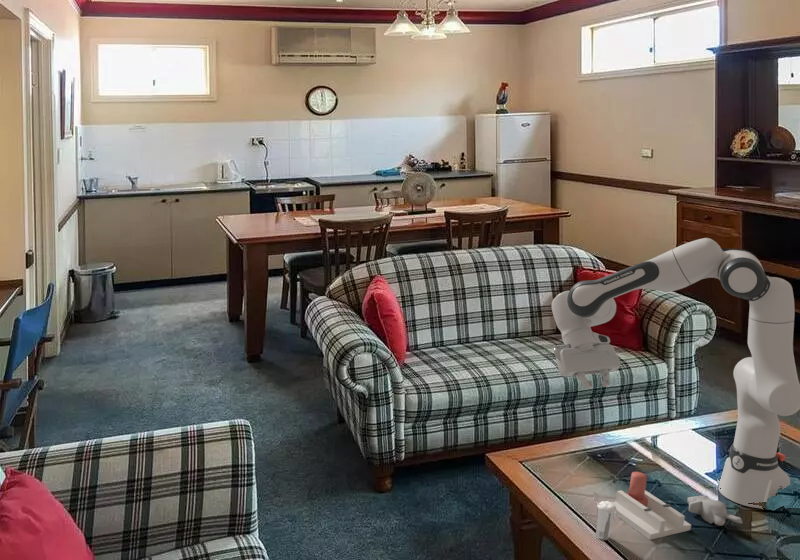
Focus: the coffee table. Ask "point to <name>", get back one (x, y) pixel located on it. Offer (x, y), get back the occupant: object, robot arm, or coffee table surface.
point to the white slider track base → (650, 516)
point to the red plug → (638, 487)
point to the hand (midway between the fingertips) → (598, 387)
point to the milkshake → (604, 519)
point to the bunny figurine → (711, 510)
